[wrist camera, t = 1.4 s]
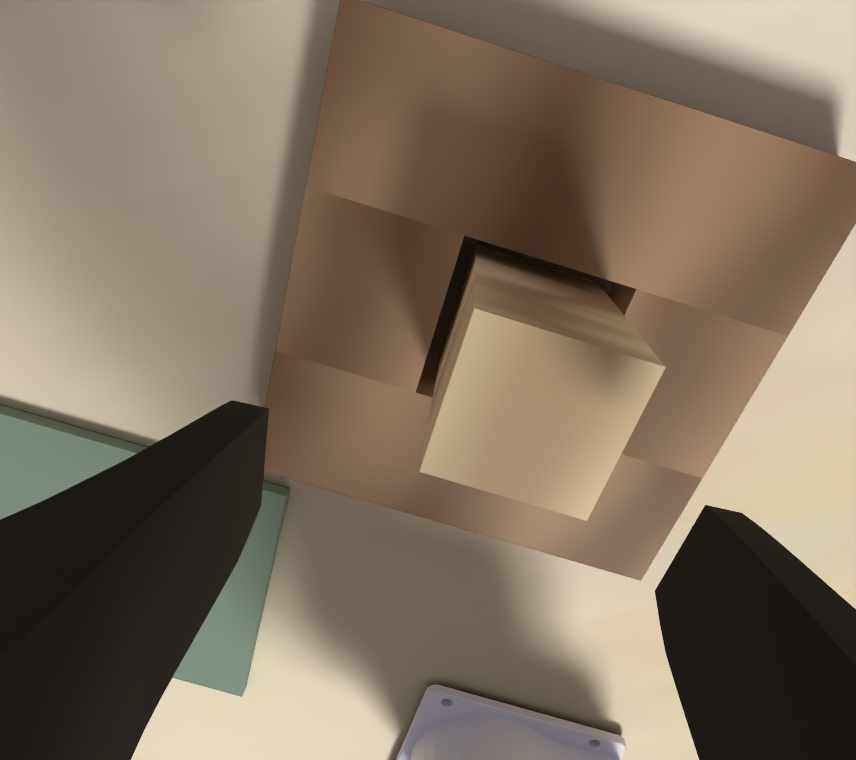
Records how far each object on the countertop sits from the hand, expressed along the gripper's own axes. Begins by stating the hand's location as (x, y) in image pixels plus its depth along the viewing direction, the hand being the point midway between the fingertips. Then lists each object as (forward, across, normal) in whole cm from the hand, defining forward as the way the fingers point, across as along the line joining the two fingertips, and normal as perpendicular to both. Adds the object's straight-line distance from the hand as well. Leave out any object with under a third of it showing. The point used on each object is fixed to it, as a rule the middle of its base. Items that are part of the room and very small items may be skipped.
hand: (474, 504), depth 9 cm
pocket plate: (+10, -1, 0) cm, 10 cm away
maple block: (+10, -1, 0) cm, 10 cm away
